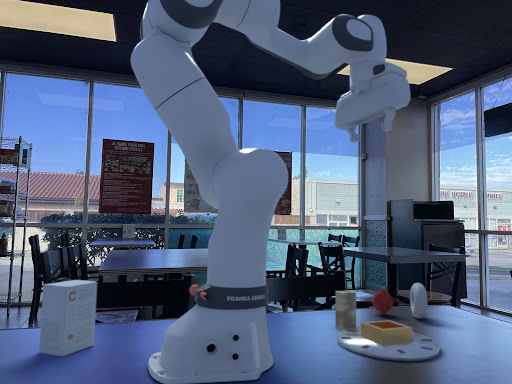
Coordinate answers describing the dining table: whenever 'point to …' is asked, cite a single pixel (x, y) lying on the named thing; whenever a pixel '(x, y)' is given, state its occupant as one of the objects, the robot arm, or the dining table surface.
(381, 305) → the onion
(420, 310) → the donut
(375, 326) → the slotted white disc
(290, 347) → the dining table surface
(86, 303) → the small box
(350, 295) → the tall beige block
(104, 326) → the dining table surface
